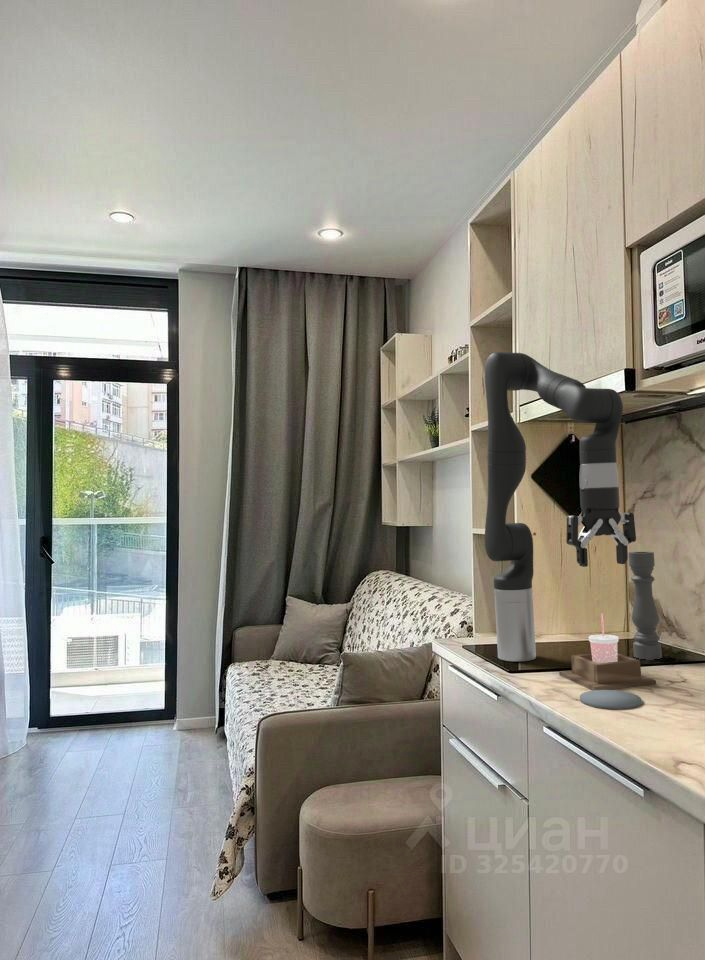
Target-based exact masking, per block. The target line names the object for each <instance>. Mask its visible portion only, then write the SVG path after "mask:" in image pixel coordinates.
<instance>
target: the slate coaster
mask: <svg viewBox="0 0 705 960" xmlns="http://www.w3.org/2000/svg"><path fill="white" fill-rule="evenodd" d="M579 702H581V704H582V703H583V705H586V706H589V707H591V708H596V709H603V710H604V709H605V710H628V709H635V708H637V707H640V706H641V705H642V703H643V701H642V697H641V696H640V695H638V694H635V693H633V692H629V691H624V690H617V689H608V690H589V691H588V690H587V691H584V692H581V694H580V695H579Z"/></svg>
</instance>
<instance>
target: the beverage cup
mask: <svg viewBox="0 0 705 960" xmlns="http://www.w3.org/2000/svg"><path fill="white" fill-rule="evenodd" d="M600 621H601V622H600V623H601V624H600V625H601V633H600V634H592V635H591V634H590V635H588V642H590V643H589V644H590V652H591V653H592V661H593V662H596V663H608V662H617V653H618V642H619V636H617V635H614V634H605V625H604V624H605V623H604V613H603V612H601V613H600ZM591 653H590V654H591Z"/></svg>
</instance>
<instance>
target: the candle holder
mask: <svg viewBox="0 0 705 960" xmlns="http://www.w3.org/2000/svg"><path fill="white" fill-rule="evenodd" d="M627 554H628V565H629V567H630V570H631V571H632V573H633V576H631V577H630V580H631V581H632V582H633V584H634V600H633V607H632V612H631V620H632V623H633V625H634V626H635V630H637V631H636V632H635V634H634V635H633V639H634V640H635V641H634V642H633V643H632V644H633V646H632V648H633V658H634V657H636V658H639V659H638V660H640V659H646V660H645V661H655V660H654V659H660V658H662V659H663V655H662V652H663V651H662V643H661V642H659V641H660V636H659V635H658V634H657V632H656V630H657V628H656V627H657V626H658V625H659V622H660V616H659V612H658V610H657V605H656V603H655V600H654V596H653V582H654V581H655V577H654V576H653V575H652V573H653V571H654V567H655V566H656V565H655V552H654V551H630V552H627ZM636 658H635V659H636ZM660 660H661V659H660Z"/></svg>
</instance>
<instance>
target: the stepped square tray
mask: <svg viewBox="0 0 705 960" xmlns="http://www.w3.org/2000/svg"><path fill="white" fill-rule="evenodd" d="M570 657H571V661H570V662H571V669H570V670H561V671H558V673H559V676H561V677H563V678H565V679H567V680H569V681H572V682H574V683H576V684H578V685H580V686H582V687H585V688H588V689H589V690H590V691H593V690H617V689H624V688H634V687H643V686H651V685H657V679H655V678H651V677H649V676H646V675H643V674H642V669H641V667H642V666H641V660H640V659H636V658H634V657H630V656H627V655H624V654H621V653H619V652H617V662H608V663H596V662H593V661H592V653H583V654H575V655H571V656H570Z"/></svg>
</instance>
